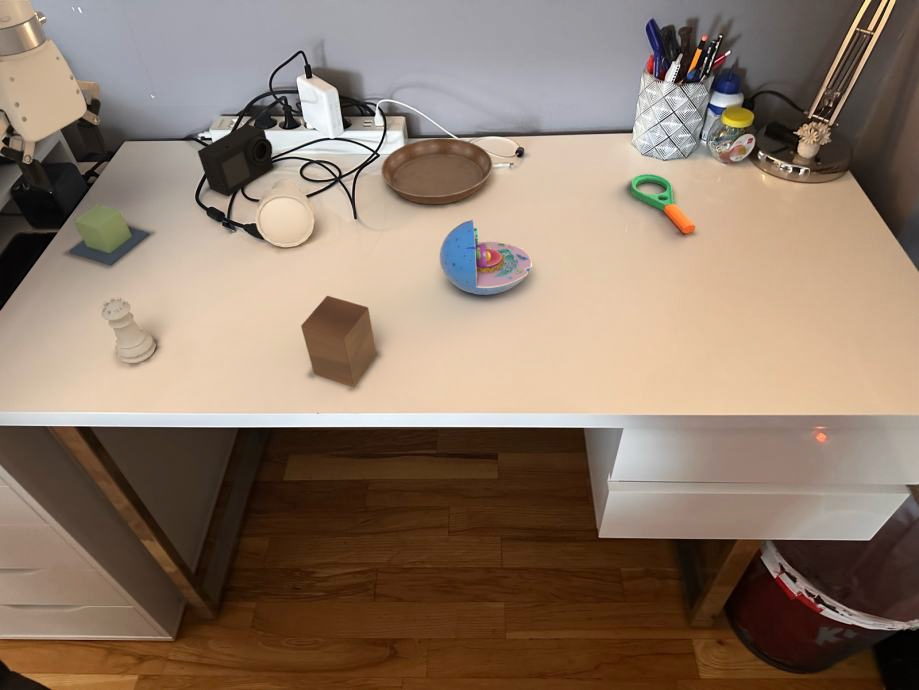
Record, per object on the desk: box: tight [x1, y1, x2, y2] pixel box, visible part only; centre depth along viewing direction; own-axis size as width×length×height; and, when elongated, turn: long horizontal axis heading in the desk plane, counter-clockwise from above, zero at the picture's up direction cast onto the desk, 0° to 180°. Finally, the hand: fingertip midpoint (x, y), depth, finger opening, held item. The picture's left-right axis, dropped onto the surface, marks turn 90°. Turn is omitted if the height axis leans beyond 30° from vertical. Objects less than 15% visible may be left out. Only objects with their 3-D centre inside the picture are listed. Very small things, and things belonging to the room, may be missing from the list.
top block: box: [73, 204, 132, 253], centre depth 97 cm, size 4×4×4 cm
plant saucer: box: [380, 137, 493, 205], centre depth 108 cm, size 18×18×3 cm
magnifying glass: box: [630, 173, 696, 234], centre depth 101 cm, size 15×6×2 cm, turn 15°
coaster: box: [68, 226, 151, 266], centre depth 99 cm, size 8×8×1 cm
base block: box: [300, 295, 377, 388], centre depth 78 cm, size 6×6×8 cm
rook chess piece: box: [100, 296, 157, 365], centre depth 80 cm, size 4×4×8 cm
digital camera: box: [197, 123, 275, 197], centre depth 108 cm, size 10×5×7 cm, turn 146°
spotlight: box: [254, 179, 315, 248], centre depth 99 cm, size 8×11×8 cm
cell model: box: [439, 219, 533, 296], centre depth 87 cm, size 10×12×10 cm
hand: (70, 168), depth 90 cm, fingers open, 9 cm apart
